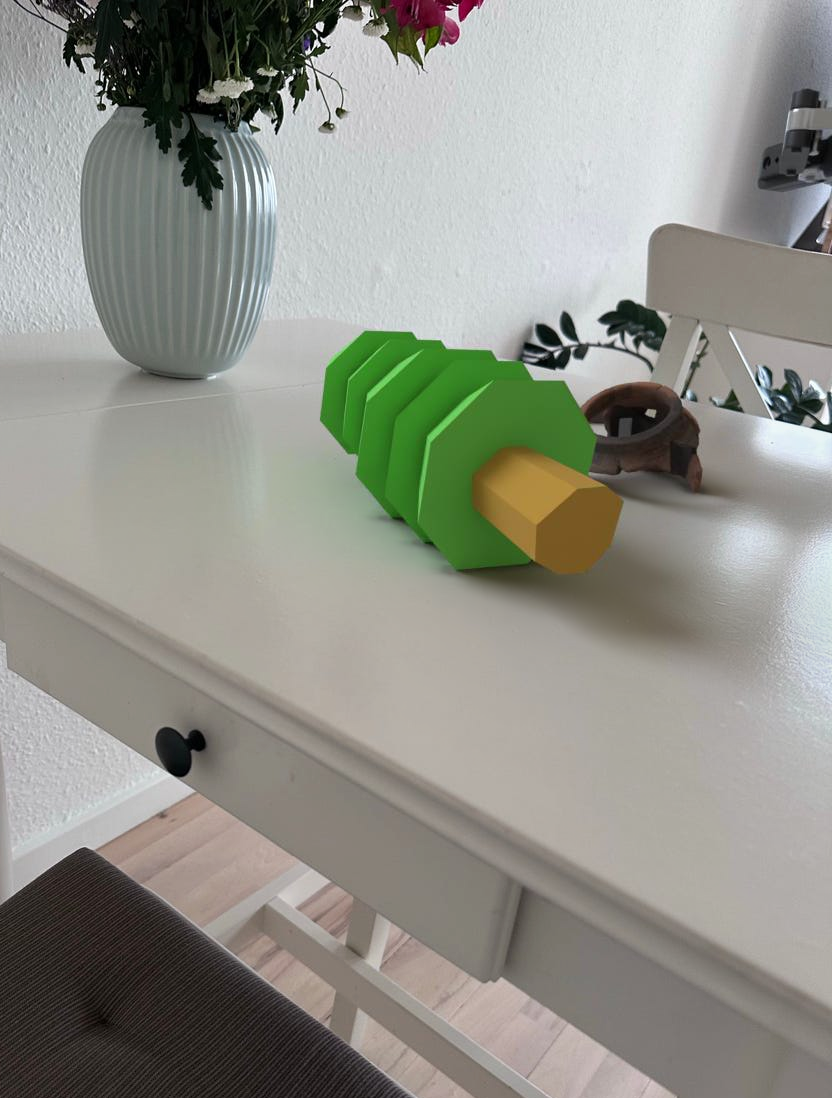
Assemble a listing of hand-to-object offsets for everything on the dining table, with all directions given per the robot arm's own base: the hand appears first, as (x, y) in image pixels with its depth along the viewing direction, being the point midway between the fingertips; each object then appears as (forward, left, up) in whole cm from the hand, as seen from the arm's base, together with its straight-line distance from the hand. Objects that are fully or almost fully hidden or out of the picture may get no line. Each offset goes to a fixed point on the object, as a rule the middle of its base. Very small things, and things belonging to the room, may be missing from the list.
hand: (770, 171), depth 55 cm
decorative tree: (+18, 0, -21) cm, 28 cm away
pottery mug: (-1, -7, -21) cm, 23 cm away
